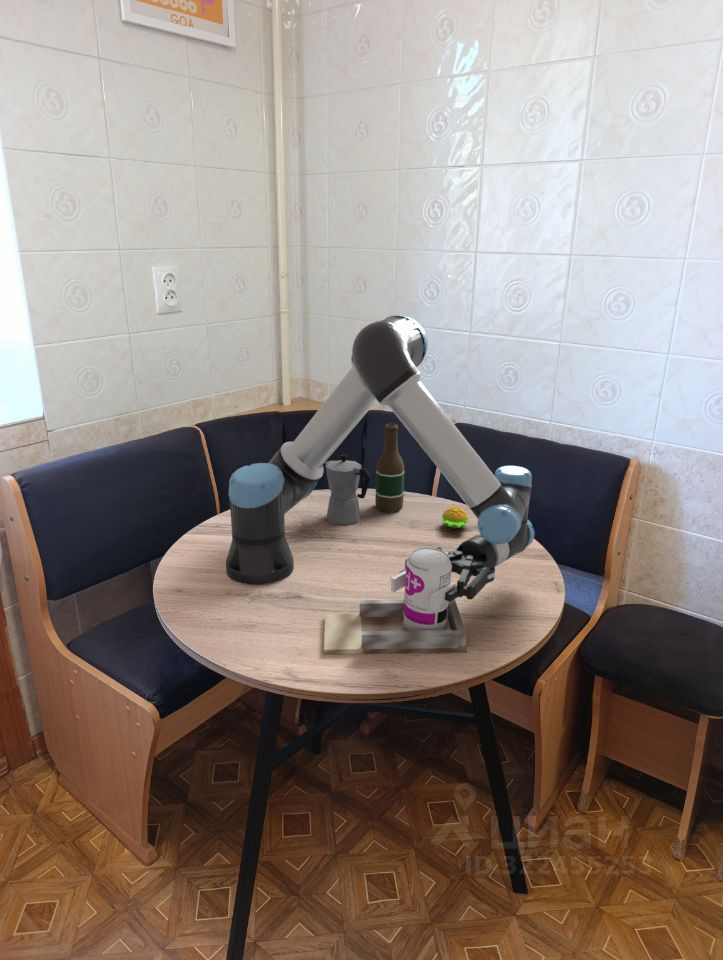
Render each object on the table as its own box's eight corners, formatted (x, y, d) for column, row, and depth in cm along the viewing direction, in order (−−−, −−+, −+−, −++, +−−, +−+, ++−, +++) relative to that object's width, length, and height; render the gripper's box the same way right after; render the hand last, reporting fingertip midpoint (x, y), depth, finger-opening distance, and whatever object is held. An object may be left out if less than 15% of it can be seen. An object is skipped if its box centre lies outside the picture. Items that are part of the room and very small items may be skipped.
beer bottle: (408, 507, 185) (411, 424, 177) (390, 515, 180) (393, 430, 171) (387, 500, 190) (389, 419, 182) (369, 507, 185) (370, 424, 176)
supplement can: (414, 643, 120) (419, 570, 115) (395, 619, 127) (399, 549, 122) (453, 634, 123) (460, 563, 118) (433, 611, 130) (438, 543, 125)
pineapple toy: (468, 521, 176) (469, 503, 175) (467, 537, 167) (468, 517, 165) (442, 519, 177) (443, 501, 176) (440, 535, 168) (441, 515, 166)
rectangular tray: (324, 654, 119) (323, 635, 118) (325, 618, 131) (324, 600, 129) (467, 652, 120) (468, 633, 119) (455, 617, 132) (457, 599, 130)
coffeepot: (313, 517, 178) (312, 453, 172) (336, 507, 185) (336, 445, 179) (358, 532, 169) (358, 466, 163) (380, 521, 176) (381, 457, 170)
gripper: (526, 587, 129) (458, 634, 113) (439, 553, 142) (368, 591, 127) (530, 552, 126) (461, 595, 111) (441, 521, 140) (368, 556, 124)
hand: (411, 593), depth 119 cm, fingers closed on supplement can, 8 cm apart
